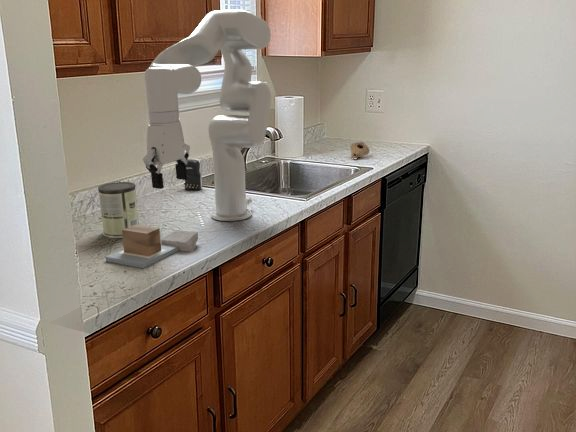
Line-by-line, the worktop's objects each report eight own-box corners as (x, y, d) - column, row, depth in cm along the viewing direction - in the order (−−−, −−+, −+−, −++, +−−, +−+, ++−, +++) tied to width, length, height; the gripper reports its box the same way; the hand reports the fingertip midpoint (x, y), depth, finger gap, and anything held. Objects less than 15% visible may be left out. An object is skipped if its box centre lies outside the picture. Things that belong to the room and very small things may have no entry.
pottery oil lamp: (343, 159, 278) (344, 144, 276) (354, 155, 288) (354, 140, 286) (361, 161, 274) (361, 145, 272) (371, 156, 284) (372, 141, 282)
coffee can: (108, 228, 179) (103, 182, 175) (142, 227, 179) (138, 181, 175) (98, 239, 169) (93, 190, 165) (135, 238, 169) (131, 189, 166)
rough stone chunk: (165, 259, 163) (155, 241, 161) (178, 246, 168) (168, 229, 165) (192, 254, 157) (181, 236, 155) (204, 241, 162) (194, 223, 160)
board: (142, 244, 163) (142, 240, 163) (178, 250, 158) (178, 246, 158) (106, 261, 151) (105, 256, 151) (143, 268, 146) (142, 263, 146)
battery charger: (181, 190, 225) (179, 159, 222) (187, 187, 228) (185, 158, 225) (198, 191, 222) (196, 161, 219) (203, 189, 226) (201, 159, 222)
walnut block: (137, 246, 158) (135, 224, 157) (161, 250, 155) (159, 228, 153) (124, 252, 154) (121, 229, 152) (148, 256, 151) (146, 233, 149)
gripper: (174, 112, 160) (179, 174, 165) (129, 122, 145) (136, 190, 151) (196, 113, 156) (201, 177, 162) (153, 123, 142) (159, 193, 147)
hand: (170, 183), depth 156 cm, fingers open, 9 cm apart
